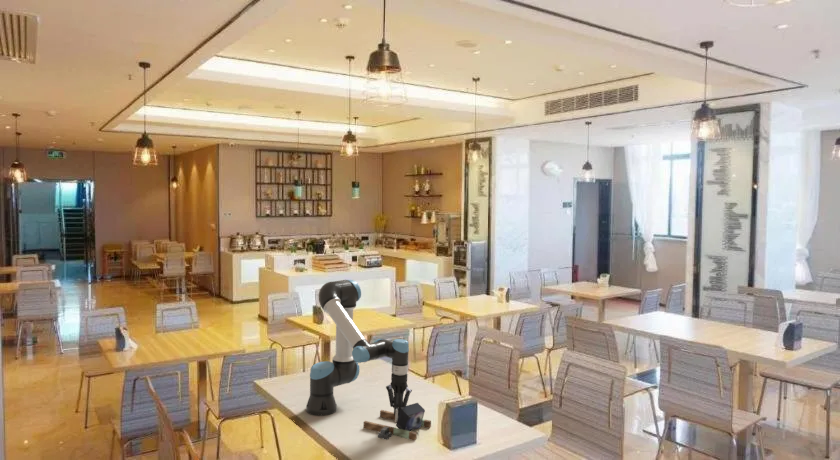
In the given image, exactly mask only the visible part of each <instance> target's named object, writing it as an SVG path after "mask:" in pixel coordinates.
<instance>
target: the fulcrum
mask: <svg viewBox="0 0 840 460" xmlns="http://www.w3.org/2000/svg"><path fill="white" fill-rule="evenodd" d="M386 426H387V425H385V427H384V428H382V429H381V431H380V432H377V438H379V439H383V440H389V439H390V438H392V437H393V435H392V432H389V427H386Z"/></svg>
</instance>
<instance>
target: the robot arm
mask: <svg viewBox="0 0 840 460" xmlns="http://www.w3.org/2000/svg"><path fill="white" fill-rule="evenodd" d="M318 291H319V292H318V302H319V304H320V307H321V309H322V310H323V312H324V313H327V314H328V315H329V317H330V318H331V319H332V322H334V324H335V354H334V356H333V357H332V361H329V360H328V361H327V360H325V361H319V362H317V363H314V364H313V365H311V367H310V372H309V379H310V380H309V397H308V400H307V403H306V407H305V408H306V409H305V410H306V413H307V414H310V415H312V416H328V415H331V414H333V413H335V412H336V411H337V410H338V409H337V407H338V406H337V402H336V399H335V396H334V388H335V387H338V386H342V385H346V384H350V383H353V382H354V381H356V380H357V378H358V377H359V374H360V365H359V364H360V363H366V362H367V363H368V362H369V361H372V360H377V359H380V358H389V359H391V378H390V380H391V382H390V384H388V385H386V386H385V389H386V390H387V393H388V399H389V405H390V407H391V408H393V412H394V415H395V420H394V423H395V424H396V423H397V420H398V416H399V413H400V409H401V407H404V406H408V402H409V397H410V395H411V393H412V391H413V389H412V388H409V386H408V372H409V352H410V348H409V341H408V340H407V339H403V338H397V339H393V341H391V340H387V339H385V338H376V340H375V341H374V342H370V343H369V342H368V340H367V339H366V337H365V336H364V335H363V333H362V332H361V330H360V329H359V327H358V326H357V325H356V323H355V322H354V309H355V308H357V302H358V301H360V299H362V290H361V287H360V285H359V283H358V282H357V281H356V280H354V279H343V280H336V281H328V282H326V283H324V284H323V285H322V286H321V288H320V289H319V290H318ZM404 393H405V394H404Z"/></svg>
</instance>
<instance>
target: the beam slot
mask: <svg viewBox="0 0 840 460" xmlns="http://www.w3.org/2000/svg"><path fill="white" fill-rule="evenodd" d="M379 417H381V418H383V419H388V420H393V421H395V415H394V411H388V410H383V409H381V410H380V411H379ZM362 424H363V429H365V430H370V431H373V432H377V433H379V432H380V431H381V429H382V428H384V427H385V426H386V427H389V432H392V436H395V437H398V438H399V437H400V438H402V439H403V438H404V439H407V440H410V441H411V440H412V441H416V440H417V432H415V431H407V430H403V429H399V428H398V427H393V426H389V425H386V424H385V425H384V424H380V423H376V422H372V421H368V420H364V421H363V423H362ZM421 427H424V428H428V429H430V428H431V427H432V420H430V419H425V418H423V419H422V423H421Z"/></svg>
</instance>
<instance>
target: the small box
mask: <svg viewBox="0 0 840 460" xmlns="http://www.w3.org/2000/svg"><path fill="white" fill-rule="evenodd" d="M425 412H426V410H425V408H423V407H422V406H421V404H420V403H419V402H415V403H412V404H407V405H406V406H404V407H401V409H400V413H399V416H398V420H397V423H395V424H396V425H395V427H396V428H398V429H403V430H407V431H411V432H413V431H415V430H418V429H420V428H421V427H422V426H421V423H422V419H424V415H425Z"/></svg>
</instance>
